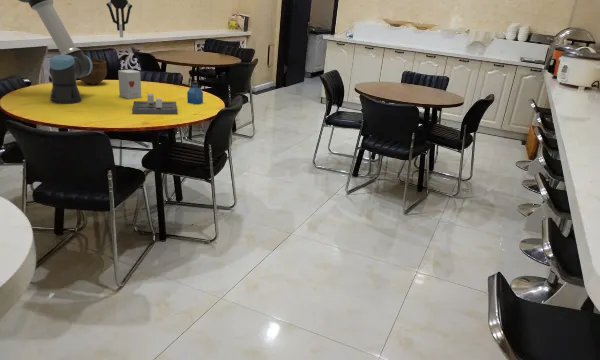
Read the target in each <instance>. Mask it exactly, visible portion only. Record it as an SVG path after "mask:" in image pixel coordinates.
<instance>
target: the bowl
mask: <svg viewBox="0 0 600 360" xmlns="http://www.w3.org/2000/svg"><path fill="white" fill-rule="evenodd" d="M90 60H91V62H92V71H91V73H90V74H88V75H87V76H85V77H80V78H78V79H79V80H80V81H81V82H83V83H84V84H88V85H97V84H100V83H102V82H103V81H104V80H105V79H106V77H107V75H108V74H107V73H108V68H107V61H106V60H104V59H100V58H90Z"/></svg>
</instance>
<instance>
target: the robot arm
mask: <svg viewBox="0 0 600 360" xmlns="http://www.w3.org/2000/svg"><path fill="white" fill-rule="evenodd" d="M17 1H18V2H21V3H26V4H27V3H28V5H29V7H30V8H31V10H32V11H36V13H37V14H38V17H39V18H40V20H41V21H42V23H43V25H44V26H45V29H46V30H47V32H48V33H49V35H50V37H51V39H52V41H53V42H54V45H55V46H56V48H57V49H58V51H59V53H60V55H53V56H51V57H50V58H49V67H50V68H49V69H50V76H51V77H50V78H51V84H52V87H51V92H50V97H49V99H50V102H51V101H52V102H51V103H54V102H55V103H56V104H63V105H65V104H76V103H80V102H82V101H83V99H82V94H81V92H80V89H79V88H78V86H77V85H78V84H77V79H79V78H80V77H85V76H87V75H88V74H90V73H91V71H92V62H91V60H90V59H91V58H90V57H89V56H88V55H86V54H84V53H83V52H82V49H81V48H78V47H77V46H76V45H75V43H74V41H73V40H72V37H71V36H70V33H69V32H68V30H67V28H66V27H65V25H64V23H63V22H62V20H61V17H60V16H59V14H58V12H57V11H56V9H55V7H54V6H53V5H54V3H55V2H54V0H17ZM112 6H113V7H114V9H115V15H114V11H113V9H112V8H113V7H112ZM106 7H107V8H108V9H109V12H110V17H111V20H112V23H113V24H116V30H117V31H118V32H119V38H124V31H126V28H125V27H126V24H129V19H130V14H131V10H132V8H133V5H132V4H130V3H129V1H128V0H109V1H108V2H106ZM126 7H127V11H126V16H125V9H126ZM119 9H120V11H119ZM120 15H121V23H120ZM115 17H116V18H115ZM125 17H126V18H125ZM55 103H54V104H55Z"/></svg>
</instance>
